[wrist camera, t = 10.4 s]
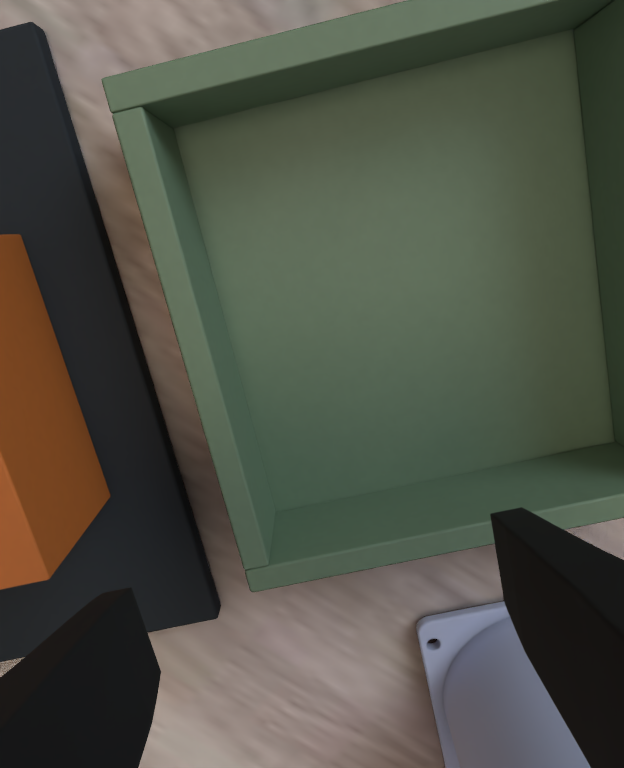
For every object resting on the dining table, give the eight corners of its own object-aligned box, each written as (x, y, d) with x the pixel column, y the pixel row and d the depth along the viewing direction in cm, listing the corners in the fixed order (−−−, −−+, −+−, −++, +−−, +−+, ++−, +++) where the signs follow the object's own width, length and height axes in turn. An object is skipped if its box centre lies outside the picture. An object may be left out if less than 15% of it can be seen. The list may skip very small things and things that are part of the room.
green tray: (634, 454, 21) (703, 502, 17) (260, 531, 22) (250, 594, 18) (592, -5, 17) (669, -68, 13) (143, 108, 18) (99, 78, 14)
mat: (221, 605, 22) (218, 619, 22) (-3, 650, 23) (-14, 665, 22) (44, 28, 17) (31, 20, 17) (-239, 102, 18) (-264, 97, 17)
